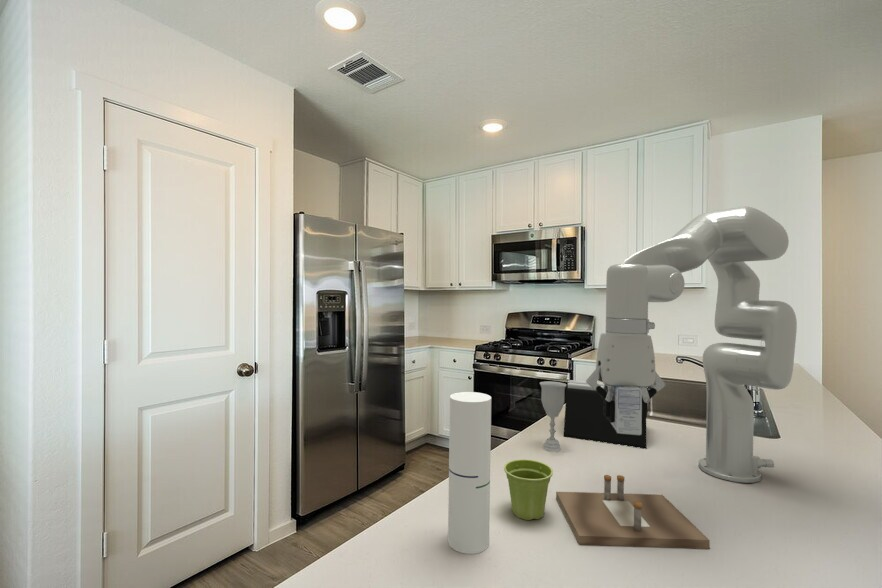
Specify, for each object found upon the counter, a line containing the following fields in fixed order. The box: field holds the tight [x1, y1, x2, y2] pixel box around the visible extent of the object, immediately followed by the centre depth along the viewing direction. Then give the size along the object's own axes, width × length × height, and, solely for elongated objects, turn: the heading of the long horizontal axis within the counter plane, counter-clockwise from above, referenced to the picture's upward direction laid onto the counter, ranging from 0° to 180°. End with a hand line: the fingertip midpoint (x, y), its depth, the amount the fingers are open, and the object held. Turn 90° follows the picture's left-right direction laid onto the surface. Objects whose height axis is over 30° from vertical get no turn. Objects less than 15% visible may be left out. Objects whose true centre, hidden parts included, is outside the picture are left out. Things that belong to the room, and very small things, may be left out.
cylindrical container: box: [447, 391, 492, 555], centre depth 72 cm, size 7×7×25 cm
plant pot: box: [503, 458, 554, 521], centre depth 82 cm, size 9×9×9 cm
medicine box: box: [610, 386, 642, 435], centre depth 81 cm, size 8×4×9 cm, turn 168°
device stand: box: [563, 379, 647, 449], centre depth 131 cm, size 22×22×15 cm
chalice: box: [539, 380, 568, 453], centre depth 116 cm, size 7×7×18 cm
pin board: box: [555, 474, 711, 550], centre depth 79 cm, size 22×16×6 cm
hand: (624, 420), depth 81 cm, fingers closed on medicine box, 5 cm apart
